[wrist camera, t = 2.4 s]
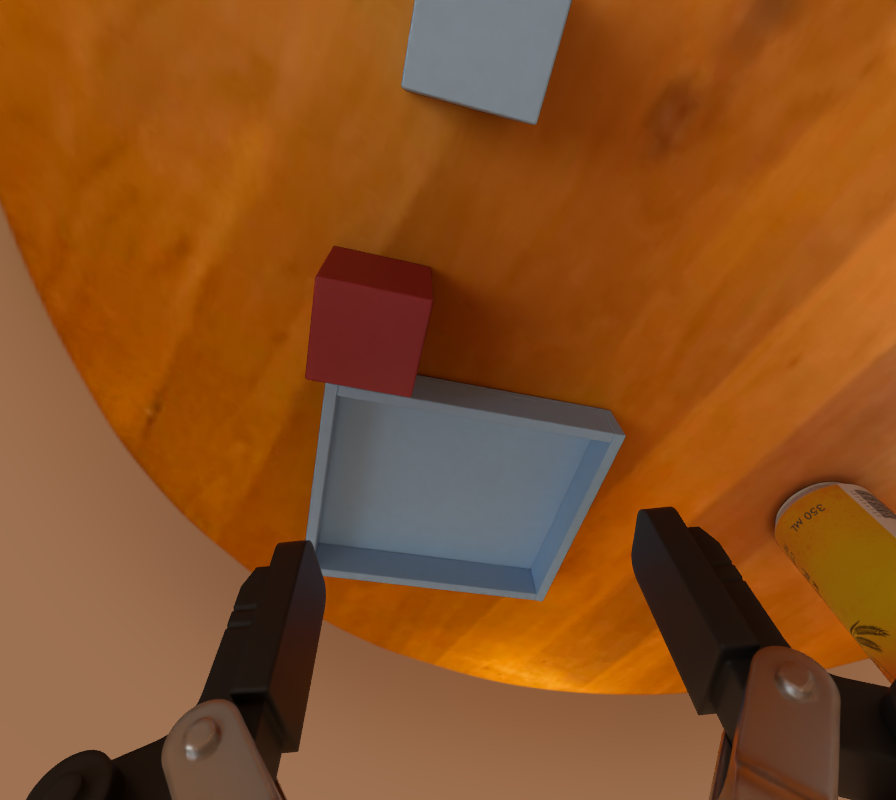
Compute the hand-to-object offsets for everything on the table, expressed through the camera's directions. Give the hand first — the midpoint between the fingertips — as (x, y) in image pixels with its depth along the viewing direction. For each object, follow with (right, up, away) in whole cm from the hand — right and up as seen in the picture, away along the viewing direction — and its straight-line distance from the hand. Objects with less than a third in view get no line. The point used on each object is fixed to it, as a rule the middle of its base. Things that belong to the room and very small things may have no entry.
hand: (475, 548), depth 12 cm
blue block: (0, +17, +6) cm, 18 cm away
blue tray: (-1, -1, +17) cm, 17 cm away
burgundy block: (-4, +8, +11) cm, 15 cm away
